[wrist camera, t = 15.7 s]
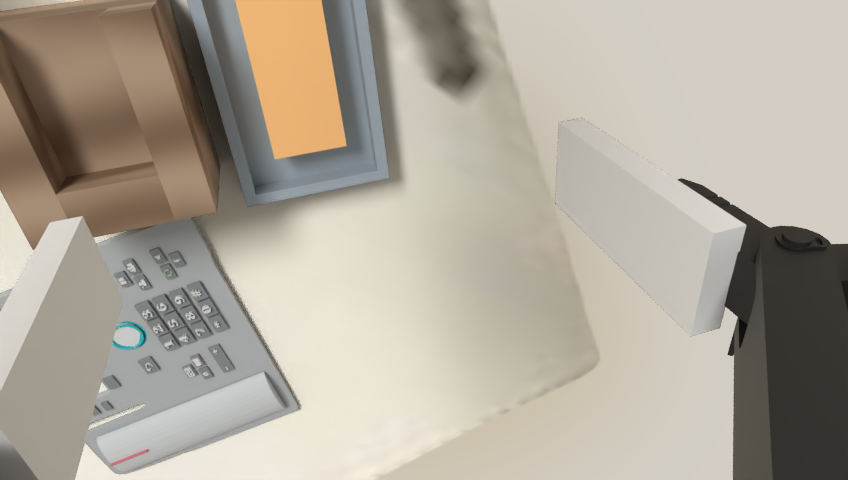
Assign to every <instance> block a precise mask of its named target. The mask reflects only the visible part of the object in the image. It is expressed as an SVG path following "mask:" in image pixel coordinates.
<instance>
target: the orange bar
mask: <svg viewBox="0 0 848 480" xmlns="http://www.w3.org/2000/svg"><path fill="white" fill-rule="evenodd" d="M235 2H236V6H237V10H238V14H239V18H240V22H241V26H242V30H243V34H244V38H245V42H246V46H247V50H248V54H249V58H250V62H251V66H252V70H253V74H254V78H255V82H256V86H257V90H258V94H259V98H260V102H261V106H262V110H263V114H264V118H265V122H266V126H267V130H268V134H269V138H270V142H271V146H272V150H273V154H274V158H275V159H280V158H286V157H291V156H296V155H301V154H307V153H312V152H317V151H322V150H328V149H333V148H338V147H344V146H347V145H346V139H345V133H344V128H343V122H342V116H341V110H340V104H339V99H338V93H337V87H336V81H335V76H334V70H333V64H332V58H331V52H330V47H329V41H328V35H327V29H326V23H325V18H324V12H323V6H322V0H235Z"/></svg>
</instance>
